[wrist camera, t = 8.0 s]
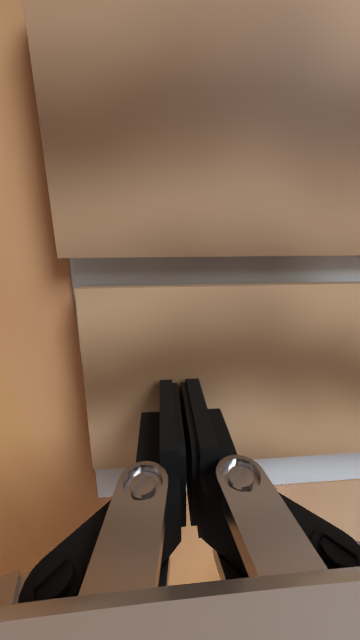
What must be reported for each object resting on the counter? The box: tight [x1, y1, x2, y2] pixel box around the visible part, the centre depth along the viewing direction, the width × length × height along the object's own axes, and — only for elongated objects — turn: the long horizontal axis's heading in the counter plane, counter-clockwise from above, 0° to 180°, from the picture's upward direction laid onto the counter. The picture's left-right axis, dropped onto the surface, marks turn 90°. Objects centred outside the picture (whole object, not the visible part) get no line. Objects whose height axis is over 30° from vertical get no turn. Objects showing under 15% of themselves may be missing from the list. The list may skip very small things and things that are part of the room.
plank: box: [75, 282, 360, 470], centre depth 12 cm, size 8×18×1 cm, turn 90°
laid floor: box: [23, 0, 360, 498], centre depth 11 cm, size 21×19×1 cm
